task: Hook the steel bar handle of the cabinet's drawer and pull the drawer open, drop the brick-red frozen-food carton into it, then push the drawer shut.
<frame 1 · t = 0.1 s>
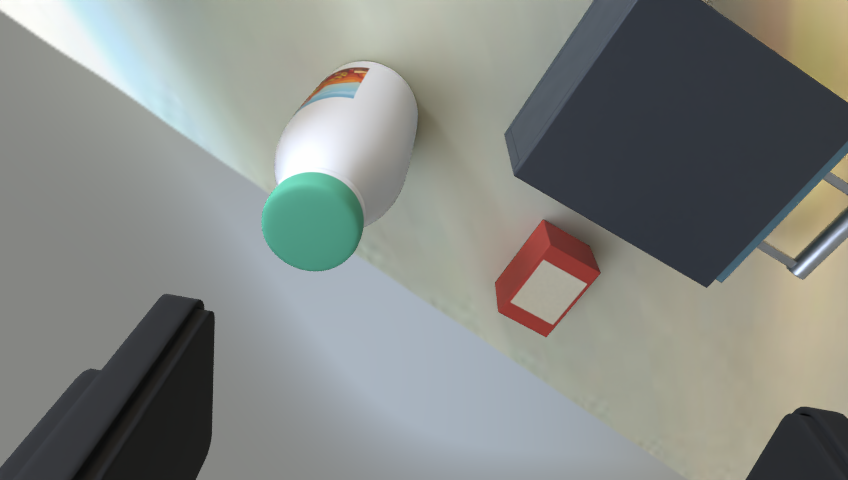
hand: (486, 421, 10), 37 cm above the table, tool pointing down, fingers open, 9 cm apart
drawer: (719, 163, 41), point 4 cm above the table, slide at 0.0 cm, touching cabinet
milk bottle: (367, 111, 45), on the table
cabinet: (645, 110, 44), on the table
package: (541, 264, 50), on the table
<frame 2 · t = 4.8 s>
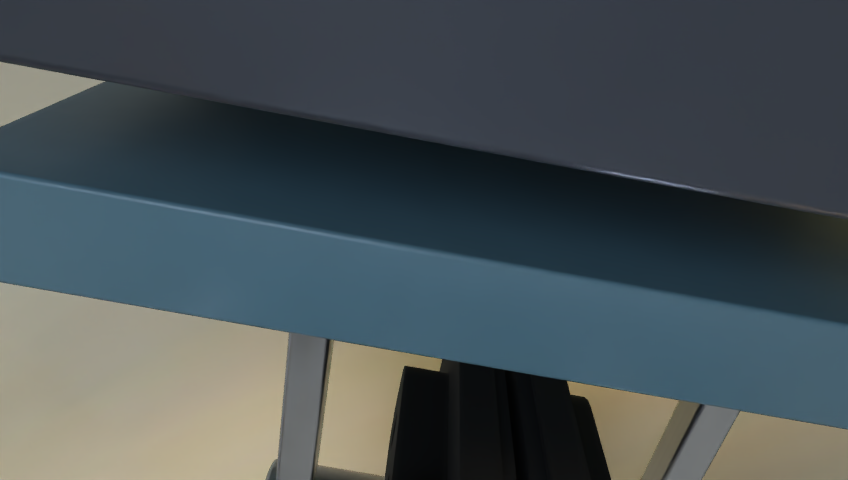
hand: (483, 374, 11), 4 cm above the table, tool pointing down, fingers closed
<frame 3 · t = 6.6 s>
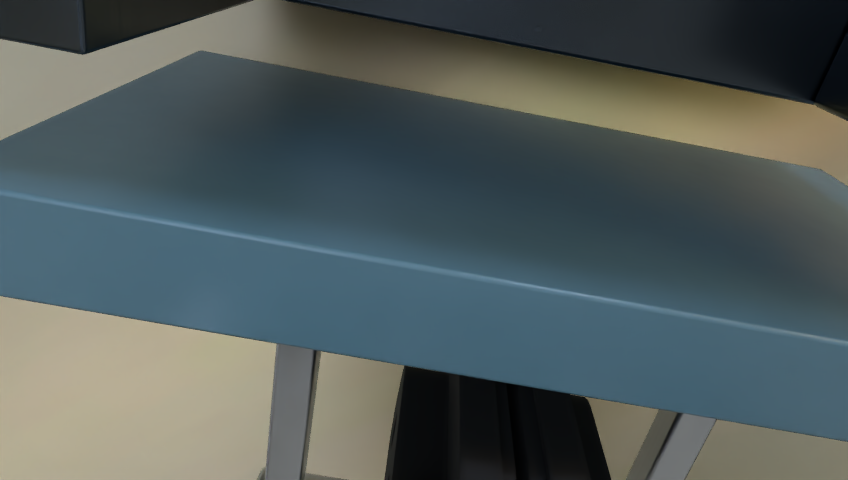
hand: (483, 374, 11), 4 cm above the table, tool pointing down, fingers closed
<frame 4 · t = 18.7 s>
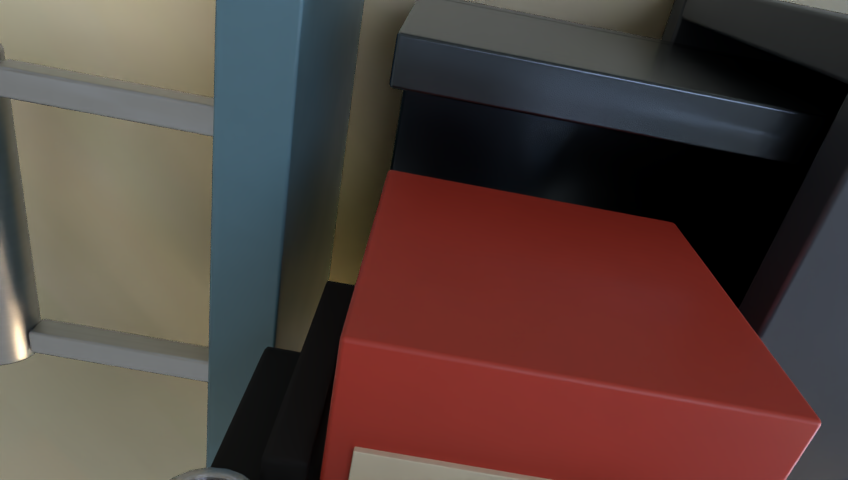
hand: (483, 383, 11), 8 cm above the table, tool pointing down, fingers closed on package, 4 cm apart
drawer: (442, 271, 14), point 4 cm above the table, slide at 7.5 cm
cabinet: (846, 272, 18), on the table
package: (483, 368, 11), point 8 cm above the table, touching gripper
when the fingers open (11 cm above the table, at t = 31.3 s): package drops 8 cm, resting on drawer.
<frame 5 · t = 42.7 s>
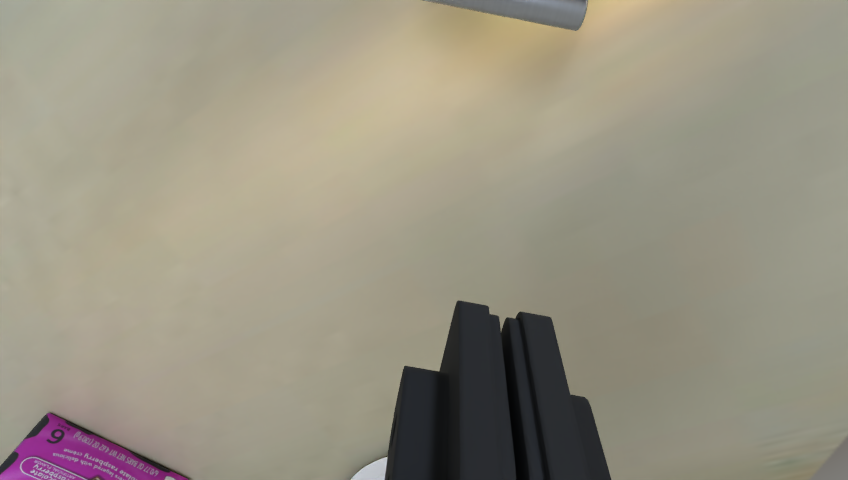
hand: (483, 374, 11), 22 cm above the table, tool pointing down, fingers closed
candy bar box: (111, 459, 44), on the table
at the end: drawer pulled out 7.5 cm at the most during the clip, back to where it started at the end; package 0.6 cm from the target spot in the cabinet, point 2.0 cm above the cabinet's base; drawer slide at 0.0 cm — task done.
